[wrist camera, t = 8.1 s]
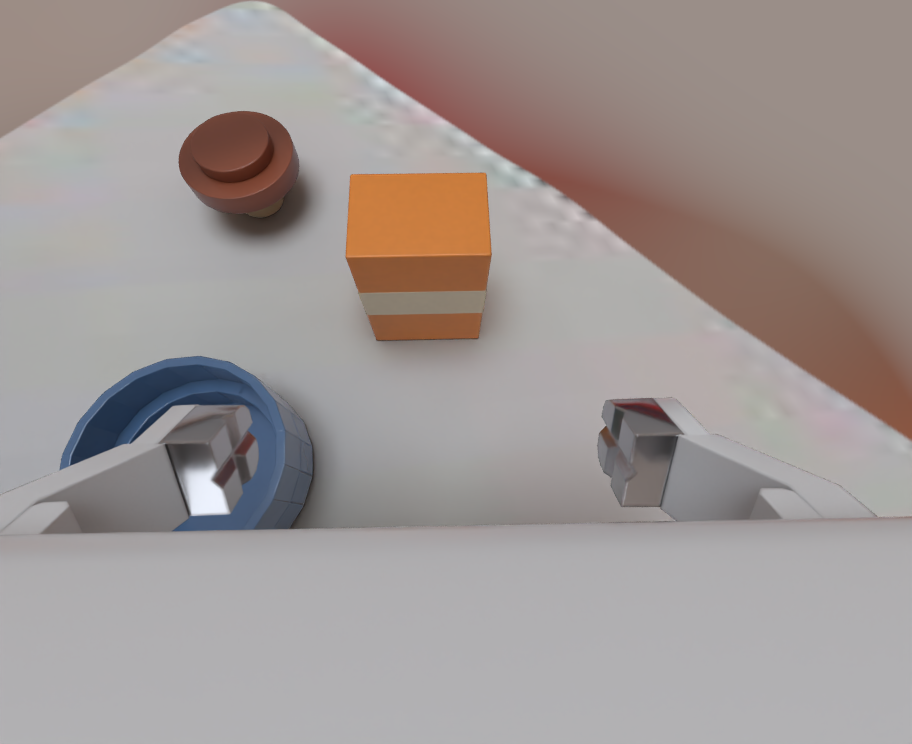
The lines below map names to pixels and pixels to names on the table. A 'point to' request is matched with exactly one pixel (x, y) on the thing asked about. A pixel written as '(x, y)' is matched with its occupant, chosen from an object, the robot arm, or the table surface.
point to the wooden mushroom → (240, 163)
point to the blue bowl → (208, 383)
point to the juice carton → (420, 252)
